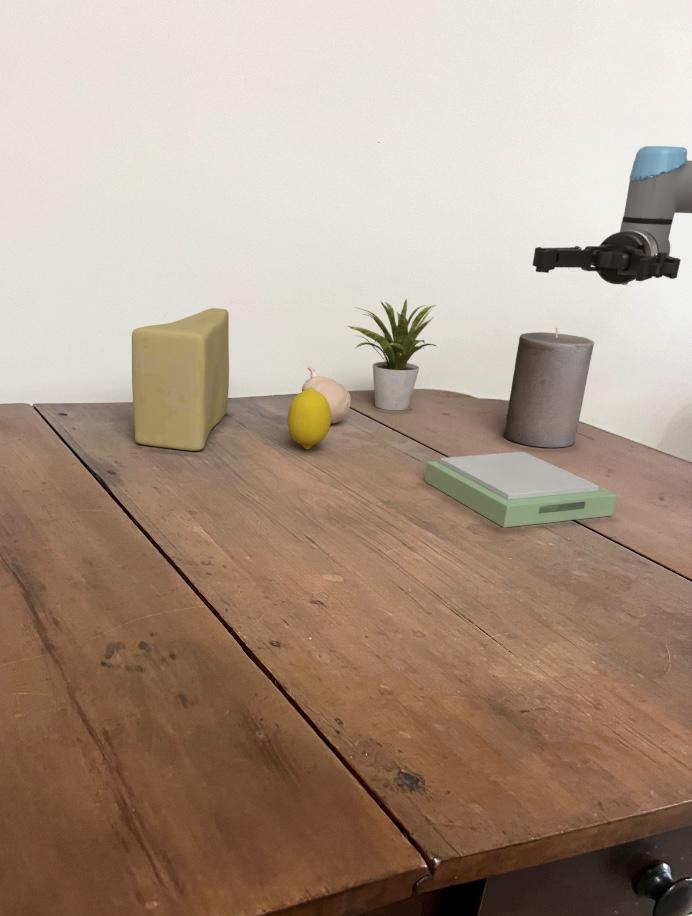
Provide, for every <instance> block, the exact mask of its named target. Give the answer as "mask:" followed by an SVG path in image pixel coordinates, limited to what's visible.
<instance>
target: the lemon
mask: <svg viewBox="0 0 692 916" xmlns="http://www.w3.org/2000/svg"><path fill="white" fill-rule="evenodd" d="M286 420H287V429H288V432H289V435H290V436H291V438H292V439H293V440H294V441H295V442H296V443H298V444H300V445H301V446H302V448H304V450H311V449H312V448H313V446H315V445H318V444H319V443H321V442H323V440H325V438H326V437H327V435H328V433H329V432H330V428H331V424H332V423H331V412H330V407H329V403H328V401H327V399H326V398H325V397H324V396H323V395H322V394H321V393H319V392H317V391H315V389H314V388H308V389H307V390H306V391H303V392H302V391H301V392H298V394H297V395H295V396H294V397H293V398H292V401H291V402H290V405H289V409H288V414H287V419H286Z"/></svg>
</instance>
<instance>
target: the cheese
mask: <svg viewBox="0 0 692 916" xmlns="http://www.w3.org/2000/svg"><path fill="white" fill-rule="evenodd" d="M229 315H230V314H229V311H228V310H227V309H225V308H216V307H213V308H211V307H210V308H207V309H205V310H202V311H200V312H198V313H195V314H191V315H189V316H187V317H184V318H180V319H178V320H175V321H172V322H168V323H167V322H166V323H162V324H161V323H160V324H151V325H146V326H140V327H137V328H136V327H135V328H134V329H133V331H132V332H131V389H132V408H133V426H134V427H133V428H134V440H135V442H136V443H138V444H140V445H144V446H150V447H157V448H164V449H174V450H180V451H189V452H190V451H192V452H198V451H201V450H203V449H204V448H205V445H206V443H207V440H208V437H209V434H210V433H211V431H212V430H213V428H214V427H215V426H217V425H218V423H219V422H220V421H222V419H223V418H224V416H225V415H227V411H228V403H229V389H230V388H229V386H230V348H229V347H230V346H229V345H230V343H229V335H230V334H229V329H230V328H229V327H230V326H229V323H230V322H229V320H230V316H229Z"/></svg>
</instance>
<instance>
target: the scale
mask: <svg viewBox="0 0 692 916" xmlns="http://www.w3.org/2000/svg"><path fill="white" fill-rule="evenodd" d="M424 482H425V483H426V484H428V485H430V486H431V487H434V488H435V489H437V490H438V491H440V492H442V493H443V494H446V496H449V497H450V498H451V499H454V500H456V501H457V502H459V503H461V504H462V505H464V506H466V507H468V508H469V509H471V510H472V511H474V512H476V513H478V514H479V515H481V516H483V517H485V519H488V520H489V521H491V522H492V523H495V524H497V525H498V526H500V527H502V528H513V527H523V526H532V525H533V526H534V525H540V524H549V523H550V524H551V523H558V522H567V521H568V522H569V521H577V520H585V519H594V518H603V517H612V516H613V515H614V511H615V506H616V502H617V497H618V495H617V494H616V493H614V492H611V491H610V490H607V489H605V488H603V487H601V486H600V485H598V484H596V483H594V482H592V481H589V480H587V479H585V478H583V477H581V476H579V475H576V474H574V473H572V472H569V471H567V470H566V469H563V468H560V467H559V466H556V465H553V464H551V463H550V462H548V461H545V460H544V459H543V460H542V459H540V458H539V457H536V456H534V455H532V454H529V453H528V452H525V451H515V452H514V451H513V452H501V453H489V454H476V455H465V456H464V455H463V456H452V457H440V458H439V460H436V461H427V462H426V466H425V476H424Z"/></svg>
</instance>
